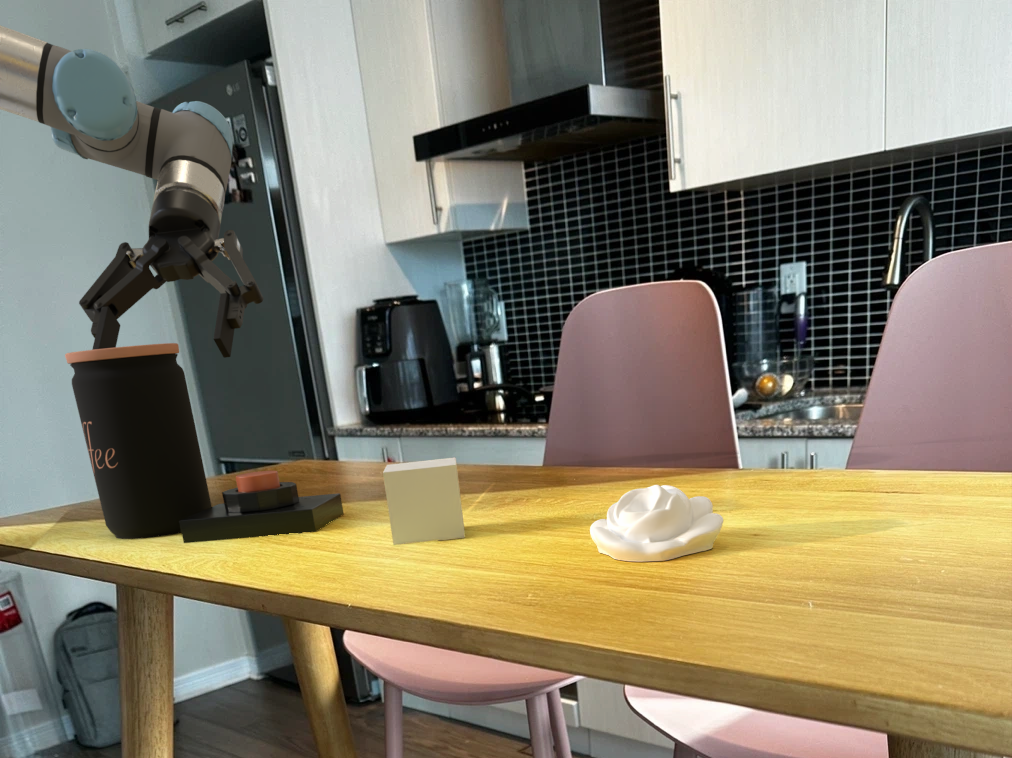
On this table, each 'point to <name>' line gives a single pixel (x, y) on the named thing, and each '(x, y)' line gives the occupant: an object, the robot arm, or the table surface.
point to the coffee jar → (140, 438)
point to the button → (257, 481)
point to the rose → (656, 525)
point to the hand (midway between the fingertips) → (161, 355)
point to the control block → (262, 514)
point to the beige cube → (424, 501)
